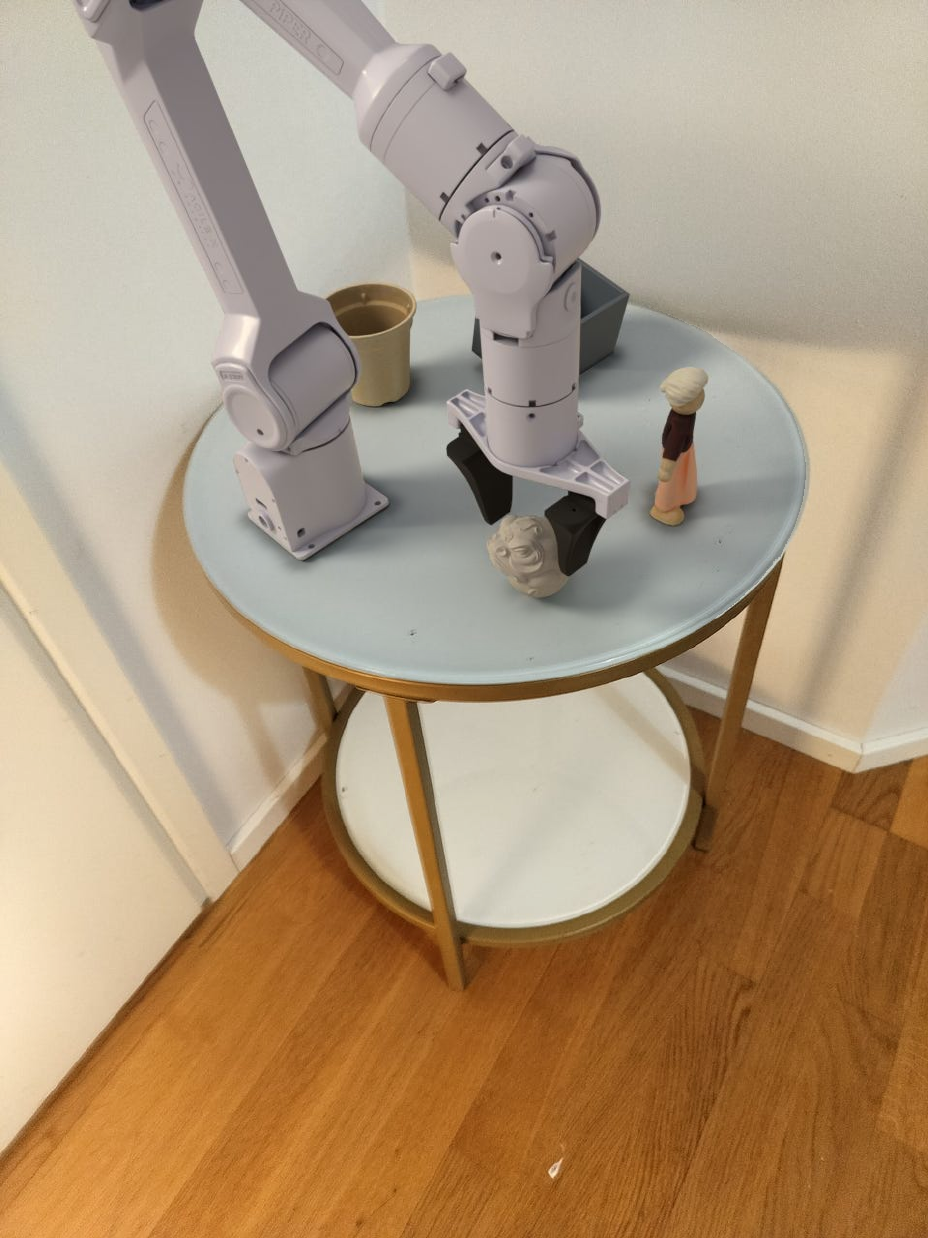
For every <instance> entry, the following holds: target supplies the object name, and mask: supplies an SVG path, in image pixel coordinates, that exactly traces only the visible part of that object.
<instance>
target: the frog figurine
mask: <svg viewBox="0 0 928 1238" xmlns="http://www.w3.org/2000/svg"><path fill="white" fill-rule="evenodd" d="M486 548H487V550H488V555H489V559H490V561H491V562H492V565H493V566H494V568H496V569H498V570H499V571H500V572H501V573H502V574H503V575H505V576H506V578H507V580H508V581H509V583H510V585H511V586H512V587H513V589H515V590H516V591H517V592H519V593H520V594H522V595H524V596H527V597H530V598H545V597H549V596H551V595H553V594H556V593H557V592H559V591H560V590H561V589H562V588H563V587H564V586H565V585H566V583H568V580H569V578H571V576H566V575H564V574H563V573H561V571H560V568H559V564H558V550H557V541H556V537H555V534H554V531H553V528H552V526H551V524H550V522H549V521H548V519H547V518H546V517H545V516H544V517H543V516H537V515H525V516H522V515H520V516H518V515H516V514H513V513H509V514H508V515H506V516H504V517H503V518H502V520H501V522H500V524H499V529H498V530H496V531H495V532H494V533H493V534H492V536H491V537H490V538H488V540H487V541H486Z"/></svg>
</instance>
